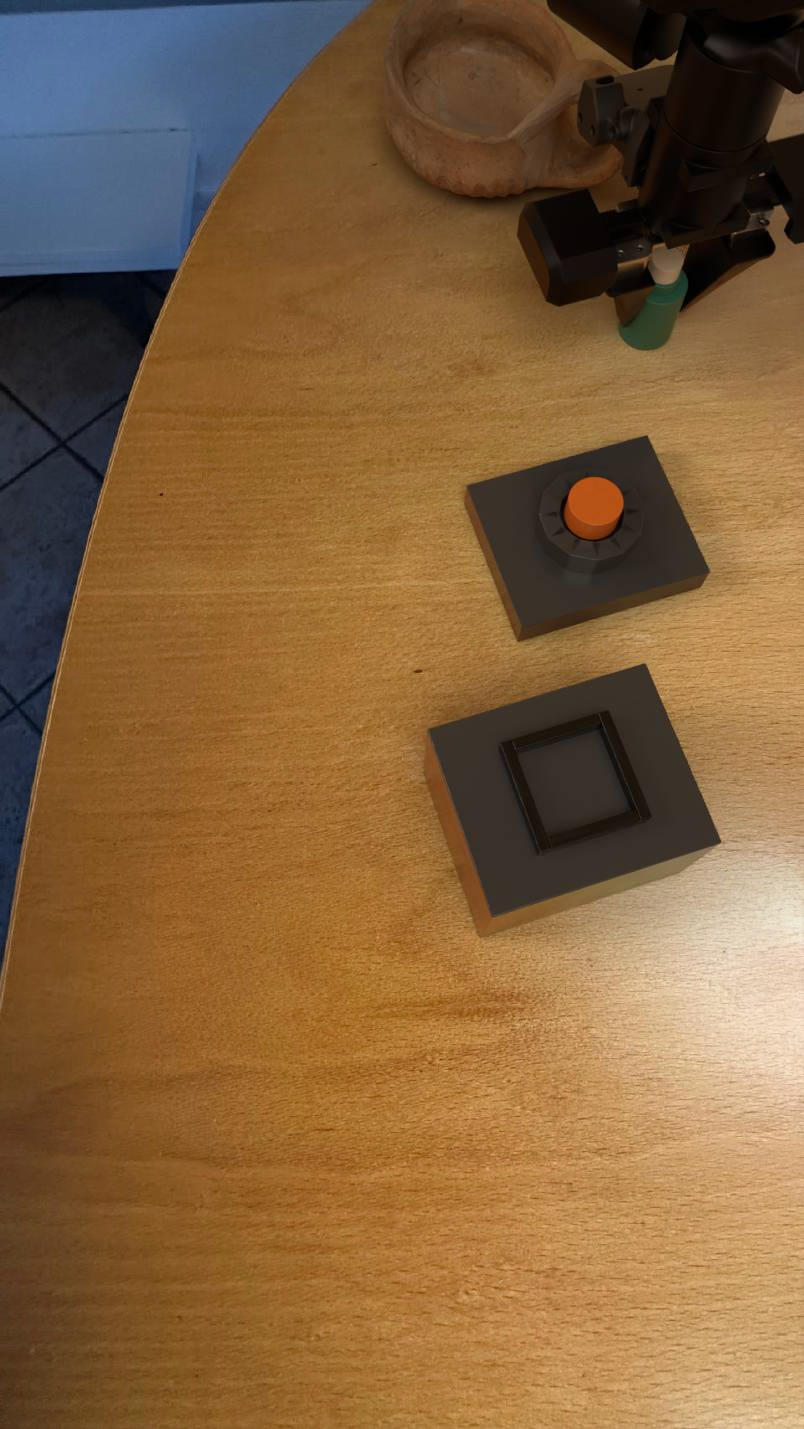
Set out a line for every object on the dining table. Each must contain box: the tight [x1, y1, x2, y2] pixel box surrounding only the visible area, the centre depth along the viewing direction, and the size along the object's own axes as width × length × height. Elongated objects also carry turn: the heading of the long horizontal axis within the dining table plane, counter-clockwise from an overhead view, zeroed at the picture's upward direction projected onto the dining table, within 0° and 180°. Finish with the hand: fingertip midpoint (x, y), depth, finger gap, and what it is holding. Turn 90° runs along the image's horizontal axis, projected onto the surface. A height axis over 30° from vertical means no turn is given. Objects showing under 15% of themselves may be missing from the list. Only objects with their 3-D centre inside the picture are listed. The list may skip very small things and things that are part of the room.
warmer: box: [423, 662, 722, 939], centre depth 56 cm, size 12×10×9 cm
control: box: [464, 434, 711, 643], centre depth 64 cm, size 12×10×4 cm
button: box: [564, 477, 624, 540], centre depth 62 cm, size 3×3×2 cm
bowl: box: [381, 0, 625, 199], centre depth 72 cm, size 18×14×10 cm
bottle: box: [617, 246, 688, 351], centre depth 68 cm, size 4×4×6 cm
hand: (650, 314), depth 70 cm, fingers closed on bottle, 4 cm apart
